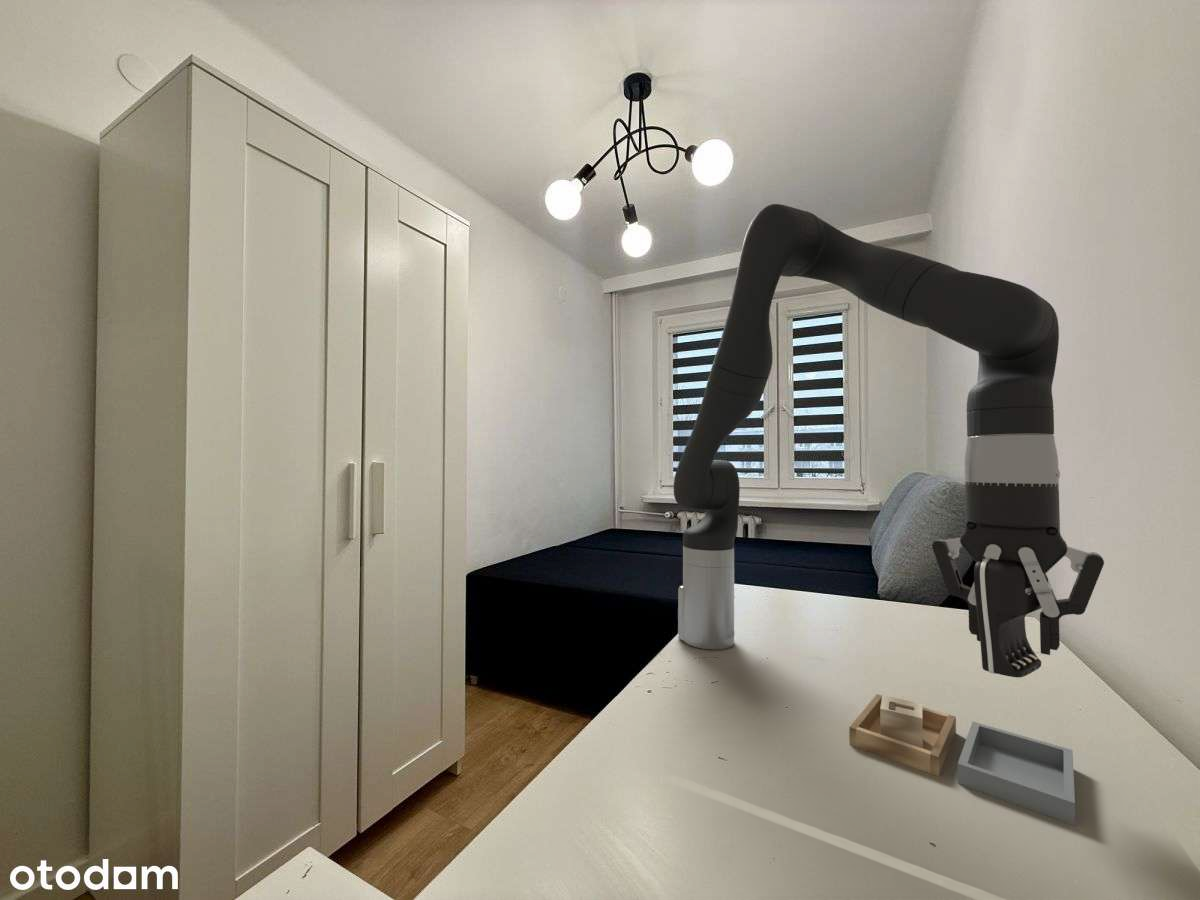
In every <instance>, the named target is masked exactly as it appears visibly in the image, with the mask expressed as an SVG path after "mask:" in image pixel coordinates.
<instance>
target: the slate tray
mask: <svg viewBox="0 0 1200 900" xmlns="http://www.w3.org/2000/svg"><path fill="white" fill-rule="evenodd" d="M1074 773H1075V772H1074V753H1073V749H1070V748H1068V747H1063V746H1060V745H1057V744H1053V743H1049V742H1046V741H1042V740H1038V739H1035V738H1032V737H1028V736H1024V735H1022V734H1018V733H1015V732H1011V731H1008V730H1004V729H1001V728H997V727H993V726H989V725H986V724H983V723H980V722H976V721H971V725H970V727H969V731H968V733H967V736H966V738H965V742H964V745H963V748H962V750H961V752H960V756H959V759H958V762H957V784H958V785H961V786H964V787H965V788H969V789H972V790H974V791H977V792H980V793H983V794H986V795H988V796H991V797H994V798H995V799H996V798H997V799H1000V800H1002V801H1006V802H1008V803H1011V804H1014V805H1016V806H1020V807H1021V808H1024V809H1027V810H1030V811H1032V812H1036V813H1039V814H1041V815H1044V816H1045V817H1046V816H1047V817H1048V818H1049V817H1050V818H1052V819H1055V820H1057V821H1059V822H1063V823H1066V824H1069V825H1072V826H1074V827H1075V826H1076V799H1075V797H1076V796H1075V774H1074Z"/></svg>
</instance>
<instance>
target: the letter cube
mask: <svg viewBox="0 0 1200 900" xmlns="http://www.w3.org/2000/svg"><path fill="white" fill-rule="evenodd" d="M881 695H882V701H881V707H880V729H881V735H884V736H887V737H890V738H893V739H896V740H899V741H902V742H905V743H908V744H911V745H914V746H917V747H920V748H923V715H922V707H923V703H920V702H915V701H911V700H906V699H903V698H902V699H901V698H897V697H892V696H890V695H889V696H888V695H884V694H881Z"/></svg>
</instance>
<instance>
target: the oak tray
mask: <svg viewBox="0 0 1200 900" xmlns="http://www.w3.org/2000/svg"><path fill="white" fill-rule="evenodd" d="M882 695H883V694H877V693H876V694H875V696H873V698H871V700H870V702H868V704H867V705H866V706H865V708H864V709H863V710H862V711H861V713H860V714H859V715H858V716H857V717H856V718H855V719H854V720H853V722H852V723H851V724H850V725H849V727H848V728H849V730H848V731H849V734H848V735H849V736H848V737H849V745H850V746H852V747H854V748H858V749H859V750H860V749H861V750H864V751H867V752H869V753H872V754H875V755H878V756H879V757H883V758H886V759H889V760H891V761H894V762H897V763H900V764H903V765H905V766H908V767H911V768H914V769H916V770H919V771H921V772H925V773H928V774H930V775H933V776H935V777H939V776H940V775H941V771H942V769H943V767H944V764H945V761H946V760H947V757H948V754H949V752H950V749H951V747H952V744H953V742H954V741H955V737H956V734H957V722H956V721H957V717H956V716H955V715H951V714H948V713H944V712H941V711H938V710H934V709H931V708H927V707H924V706H922V715H923V748H920V747H917V746H914V745H911V744H908V743H905V742H902V741H899V740H896V739H893V738H890V737H887V736H884V735H881V729H880V707H881V701H882Z"/></svg>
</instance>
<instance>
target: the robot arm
mask: <svg viewBox="0 0 1200 900" xmlns="http://www.w3.org/2000/svg"><path fill="white" fill-rule="evenodd" d="M753 217H754V218H753V219H752V220H751V221H750V224H749V226H748V228H747V230H746V233H745V235H744V239H743V243H742V247H741V251H740V255H739V261H738V266H737V270H736V276H735V281H734V286H733V291H732V296H731V301H730V304H729V308H728V312H727V316H726V319H725V322H724V327H723V331H722V334H721V338H720V341H719V344H718V346H717V347H718V348H717V350H716V353H715V357H714V359H713V362H712V365H711V368H710V372H709V376H708V378H707V383H706V387H705V391H704V394H703V398H702V401H701V404H700V406H699V407H700V408H699V410H698V414H697V417H696V420H695V422H694V426H693V428H692V431H691V433H690V435H689V438H688V440H687V442H686V446H685V448H684V450H683V452H682V455H681V458H680V460H679V461H678V462H679V463H678V465H677V468H676V470H675V471H676V472H675V475H674V480H673V497H674V499H675V502H676V503H677V505H678V506H679V507H680V508H681V509H682V508H683V509H685V510H692V511H693V510H694V511H697V510H698V511H700V510H705V515H704V517H702V519H701V520H699V522H697V523H696V524H694V525H692V526H689V527H688V528H686V529H685V530H684V532H683V535H682V585H679V587H678V590H677V591H678V593H677V595H678V596H677V597H678V598H677V600H678V601H677V602H678V603H677V606H678V607H677V622H678V623H677V639H678V640H681V641H683V642H684V643H685V644H687V645H689V646H691V647H695V648H699V649H703V650H726V649H729V648H731V647H733V646H734V644H735V539H736V536H737V533H738V528H739V508H740V507H739V506H740V491H741V490H740V479H739V473H738V471H737V468H736V467H735V466H734V464H733V463H732V462H730V461H728V460H724V459H723V460H722V459H715V457H716V455H717V453H718V451H719V449H720V448H721V445H722V444H723V443H724V442H725V441H726V439H727V438H728V437H729V436H730V435H731V434H732V433H733V432H735V430H736V429H737V428H738V427H739V426H740V425H741V424H742V423H743V422H744V421H745V420H747V418H748V417H749V416H750V415H751V414H752V413H753V411H755V409H756V408H757V406H758V405H759V403H760V401H761V399H762V396H763V393H764V391H765V388H766V386H767V383H768V380H769V377H770V374H771V371H772V366H773V357H774V356H773V354H774V353H773V346H772V345H773V343H772V336H771V335H772V334H771V328H770V312H771V306H772V302H773V299H774V296H775V292H776V288H777V285H778V283H779V281H780V278H781V277H786V278H787V277H792V278H793V277H799V278H800V277H801V278H806V279H807V278H808V279H812V280H818V281H822V282H827V283H830V284H833V285H835V286H837V287H840V288H842V289H844V290H846V291H848V292H849V293H850V294H852V295H853V296H855V297H856V298H858V300H861V301H862V302H864V303H865V304H866V305H869V306H871V307H872V308H874V309H876V310H879V311H881V312H884V313H885V314H888V315H890V316H893V317H895V318H897V319H900V320H902V321H905V322H907V323H909V324H912V325H916V326H918V327H922V328H927V329H929V330H932V331H934V332H935V333H937V334H940V335H942V336H943V337H945V338H947V339H949V340H952V341H954V342H956V343H958V344H961V346H964V347H967V348H968V349H971V350H973V351H975V352H977V353H978V370H977V383H976V384H975V385H974V386H973V387H971V388H970V390H969V392H968V394H967V398H966V436H967V439H966V447H965V451H964V452H965V454H964V498H965V499H964V500H965V501H964V504H965V505H964V507H965V508H964V509H965V526H964V530H963V531H962V533H961V535H960V537H956V538H949V539H944V538H939V539H936V540H935V541H934V542H933V543H931V546H932V547H931V548H932V550H933V553H934V556H935V559H936V562H937V566H938V567H939V570H940V574H941V576H942V579H943V582H944V584H945V588H946V590H947V593H948V594H949V595H950V596H953V597H957V598H959V599H961V600H964V601H965V602H966V604H967V607H968V630H969V632H970V634H971V635H975V636H976V641H977V642H980V635H979V626H978V617H977V608H976V598H975V585H974V582H973V583H972V585H971V587H970V586H968V585H966V584H964V583H963V580H962V577H961V574H960V572H959V569H958V567H957V566H958V565H957V563H956V561H955V559H956V558H958V557H959V556H960V549H961V548H963V549H964V550H965V551H966V552H967V554H968V555H969V556H970V557H971V558H972V559H973V561H975V564H976V563H977V561H978V560H980V559H982V560H984V559H990V560H992V561H998V559H1000V560H1013V561H1017V562H1020V563H1021V564H1022V565H1024V568H1025V570H1026V573H1027V575H1028V577H1029V580H1030V582H1031V585H1032V587H1033V590H1034V592H1035V594H1036V595H1037V598H1038V600H1039V603H1040V605H1041V611H1040V614H1039V637H1040V638H1039V640H1040V641H1039V642H1040V643H1039V644H1040V646H1039V647H1040V654H1042V655H1047V656H1051V650H1052V651H1058V649H1059V648H1060V642H1061V641H1060V638H1061V637H1060V619H1061V618H1062V617H1064V616H1068V615H1077V616H1078V615H1079V616H1080V615H1084V614H1085V611H1086V609H1087V608H1088V605H1089V602H1090V600H1091V597H1092V594H1093V592H1094V590H1095V587H1096V585H1097V583H1098V580H1099V577H1100V575H1101V572H1102V570H1103V568H1104V565H1105V560H1104V558H1103V557H1102V555H1101V554H1100V553H1098V552H1093V551H1092V552H1087V551H1084V550H1080V549H1077V548H1074V547H1070V546H1068V544H1067V542H1066V541H1065V540H1064V539H1063V537H1062V534H1061V523H1060V522H1061V520H1060V514H1061V513H1060V489H1059V488H1060V485H1059V484H1060V480H1059V479H1060V473H1061V472H1060V469H1059V456H1058V450H1057V446H1056V440H1055V416H1054V415H1055V414H1054V412H1055V411H1054V399H1053V390H1052V389H1053V382H1054V377H1055V372H1056V366H1057V361H1058V360H1057V359H1058V353H1059V352H1058V351H1059V341H1060V327H1059V321H1058V320H1059V319H1058V315H1057V313H1056V311H1055V309H1054V306H1052V304H1051V303H1050V302H1048V301H1047V300H1046V299H1044V297H1042V296H1040V295H1039V294H1037V293H1036V292H1035V291H1033V290H1032V289H1031V288H1029V287H1026V286H1025V285H1022V284H1019V283H1017V282H1013V281H1010V280H1006V279H1003V278H1000V277H995V276H990V275H986V274H980V273H975V272H970V271H963V270H960V269H958V268H955V267H952V266H951V265H948V264H945V263H942V262H939V261H936V260H934V259H933V260H932V259H930V258H925V256H924V257H923V256H919V255H917V254H914V253H911V252H910V253H909V252H906V251H902V250H898V249H895V248H889V247H886V246H879V245H876V244H872V243H869V242H866V241H863V240H860V239H857V238H855V237H853V236H850V235H849V234H846V233H845V232H843V231H842V230H840V229H838V228H836V227H834V226H833V225H831V224H829V223H828V222H826V221H825V220H823V219H822V218H820V217H818V216H817V215H816V214H814V213H812V212H810V211H808V210H807V211H806V210H803V209H800V208H795V207H793V206H788V205H785V204H780V203H772V204H769V205H766V206H765V207H763V208H762V209H760V211H759V212H757V214H756V215H755V216H753ZM1065 557H1066V558H1067V559H1069V562H1070V568H1071V569H1072V571H1073V572H1075V573H1077V575H1076V577H1075V578H1076V579H1075V581H1074V583H1073V587H1072V589H1071V591H1070V594H1069V596H1068V598H1063V599H1062V598H1061V599H1057V598H1056V595H1055V591H1054V590H1053V588H1052V584H1051V581H1050V580H1049V577H1048V574H1047V573H1048V572H1049V571H1050V570H1051V569H1052V568H1053V567H1055V565H1057V563H1058V562H1060V561H1061V560H1062V559H1063V558H1065ZM1037 579H1038V581H1037ZM678 635H679V636H678Z"/></svg>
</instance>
